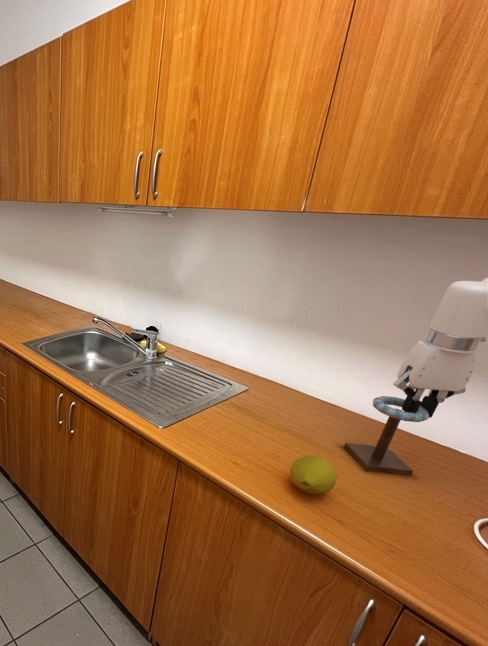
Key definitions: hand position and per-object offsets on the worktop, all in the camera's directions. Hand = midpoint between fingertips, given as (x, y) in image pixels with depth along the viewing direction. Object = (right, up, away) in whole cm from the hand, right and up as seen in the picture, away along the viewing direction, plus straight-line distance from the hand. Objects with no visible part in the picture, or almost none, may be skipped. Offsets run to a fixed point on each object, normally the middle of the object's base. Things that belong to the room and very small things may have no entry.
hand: (416, 413), depth 91 cm
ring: (-3, +1, 0) cm, 3 cm away
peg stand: (-3, -13, +6) cm, 15 cm away
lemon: (-27, -17, -2) cm, 32 cm away
